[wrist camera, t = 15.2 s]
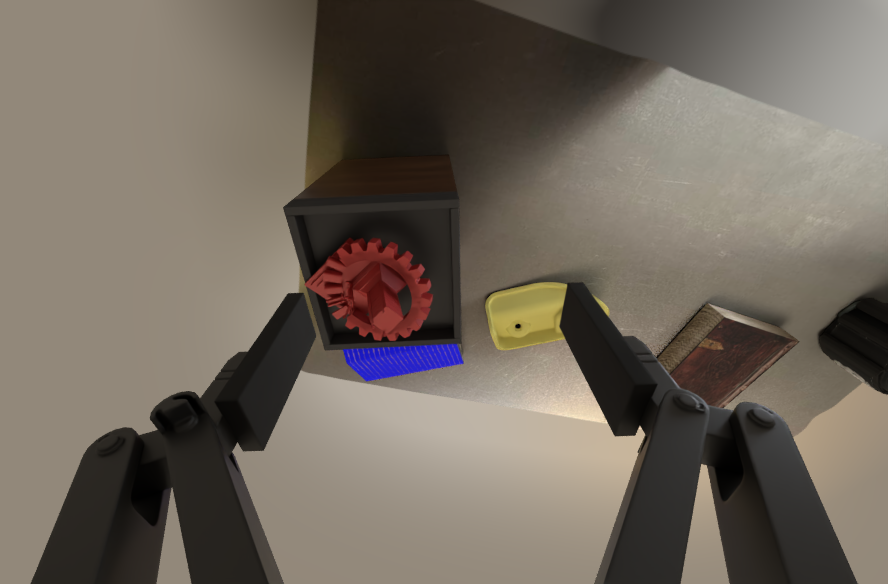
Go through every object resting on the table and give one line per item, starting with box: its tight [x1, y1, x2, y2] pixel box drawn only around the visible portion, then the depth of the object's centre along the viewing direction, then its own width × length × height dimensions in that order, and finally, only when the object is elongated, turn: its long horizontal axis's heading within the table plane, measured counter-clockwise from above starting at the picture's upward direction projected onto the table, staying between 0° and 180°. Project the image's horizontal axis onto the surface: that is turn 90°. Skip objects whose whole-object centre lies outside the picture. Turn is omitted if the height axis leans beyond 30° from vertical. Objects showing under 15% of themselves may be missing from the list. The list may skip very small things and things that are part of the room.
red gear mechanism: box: [305, 237, 433, 341], centre depth 32 cm, size 11×12×8 cm
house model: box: [343, 344, 464, 381], centre depth 62 cm, size 19×20×7 cm
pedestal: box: [294, 155, 457, 199], centre depth 45 cm, size 17×16×20 cm
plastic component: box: [485, 282, 609, 350], centre depth 62 cm, size 20×7×10 cm
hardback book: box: [657, 303, 799, 408], centre depth 71 cm, size 29×19×5 cm, turn 160°
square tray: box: [283, 191, 461, 350], centre depth 35 cm, size 17×16×3 cm
